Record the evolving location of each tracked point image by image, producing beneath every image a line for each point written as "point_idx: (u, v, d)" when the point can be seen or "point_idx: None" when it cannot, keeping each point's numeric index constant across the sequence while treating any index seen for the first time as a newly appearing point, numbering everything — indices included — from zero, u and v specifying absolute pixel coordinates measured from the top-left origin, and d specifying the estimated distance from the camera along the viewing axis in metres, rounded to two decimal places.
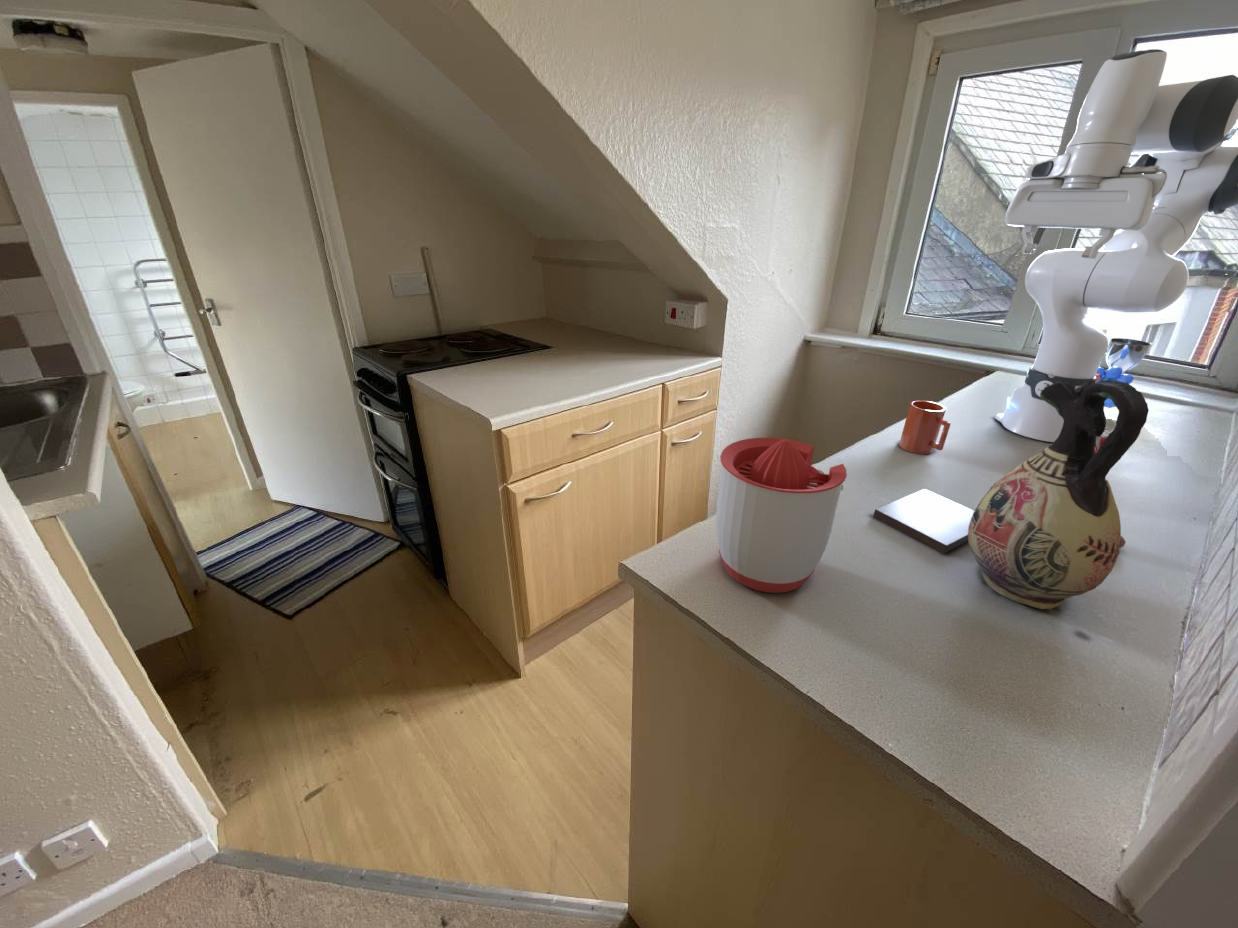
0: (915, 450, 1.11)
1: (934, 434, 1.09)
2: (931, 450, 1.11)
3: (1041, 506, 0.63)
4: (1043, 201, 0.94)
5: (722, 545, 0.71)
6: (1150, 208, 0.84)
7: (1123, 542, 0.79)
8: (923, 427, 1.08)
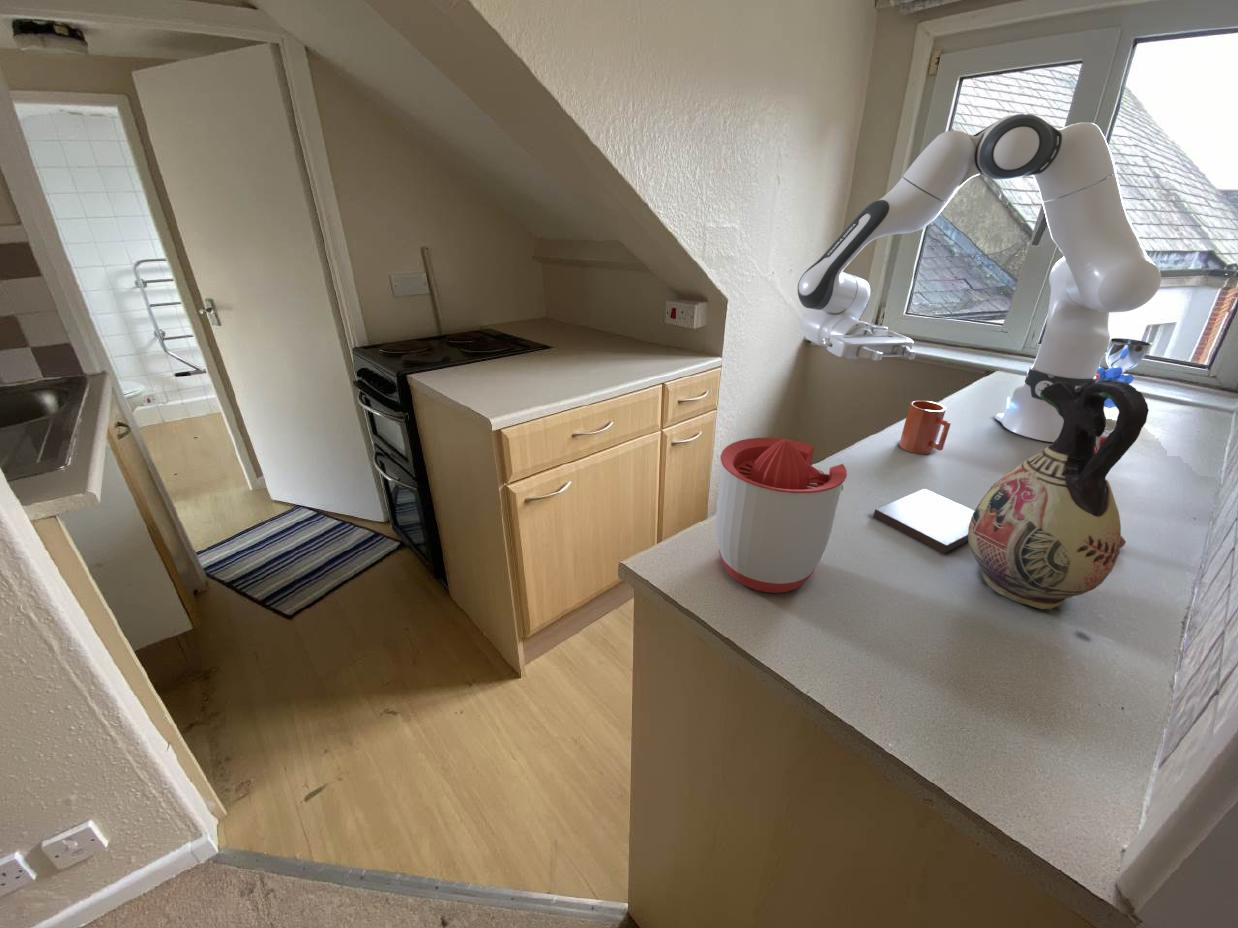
0: (915, 450, 1.11)
1: (934, 434, 1.09)
2: (931, 450, 1.11)
3: (1041, 506, 0.63)
4: None
5: (722, 545, 0.71)
6: (836, 345, 1.18)
7: (1123, 542, 0.79)
8: (923, 427, 1.08)
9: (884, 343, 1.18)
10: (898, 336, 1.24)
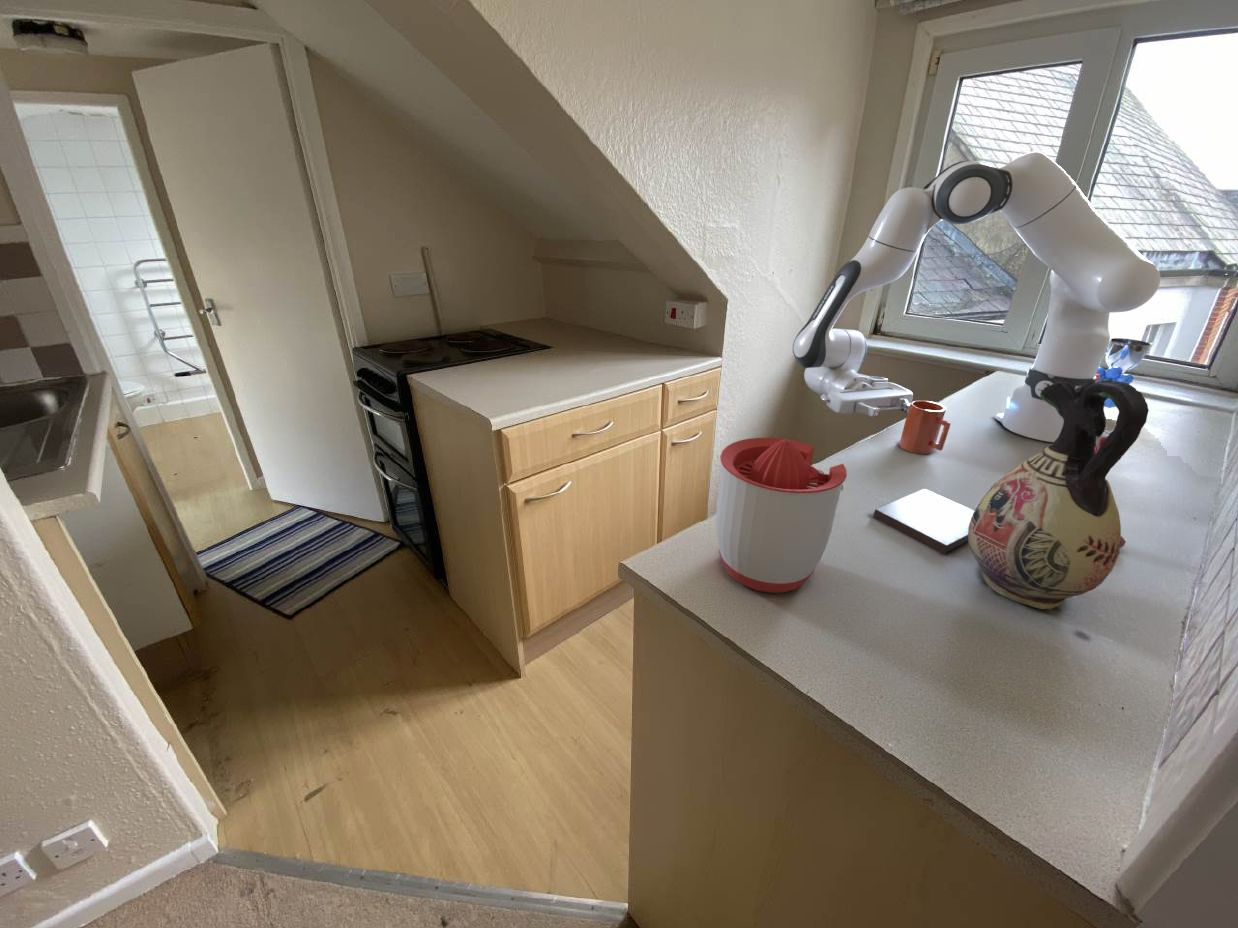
0: (915, 450, 1.11)
1: (934, 434, 1.09)
2: (931, 450, 1.11)
3: (1041, 506, 0.63)
4: None
5: (722, 545, 0.71)
6: (833, 401, 1.22)
7: (1123, 542, 0.79)
8: (923, 427, 1.08)
9: (881, 397, 1.22)
10: (898, 388, 1.27)
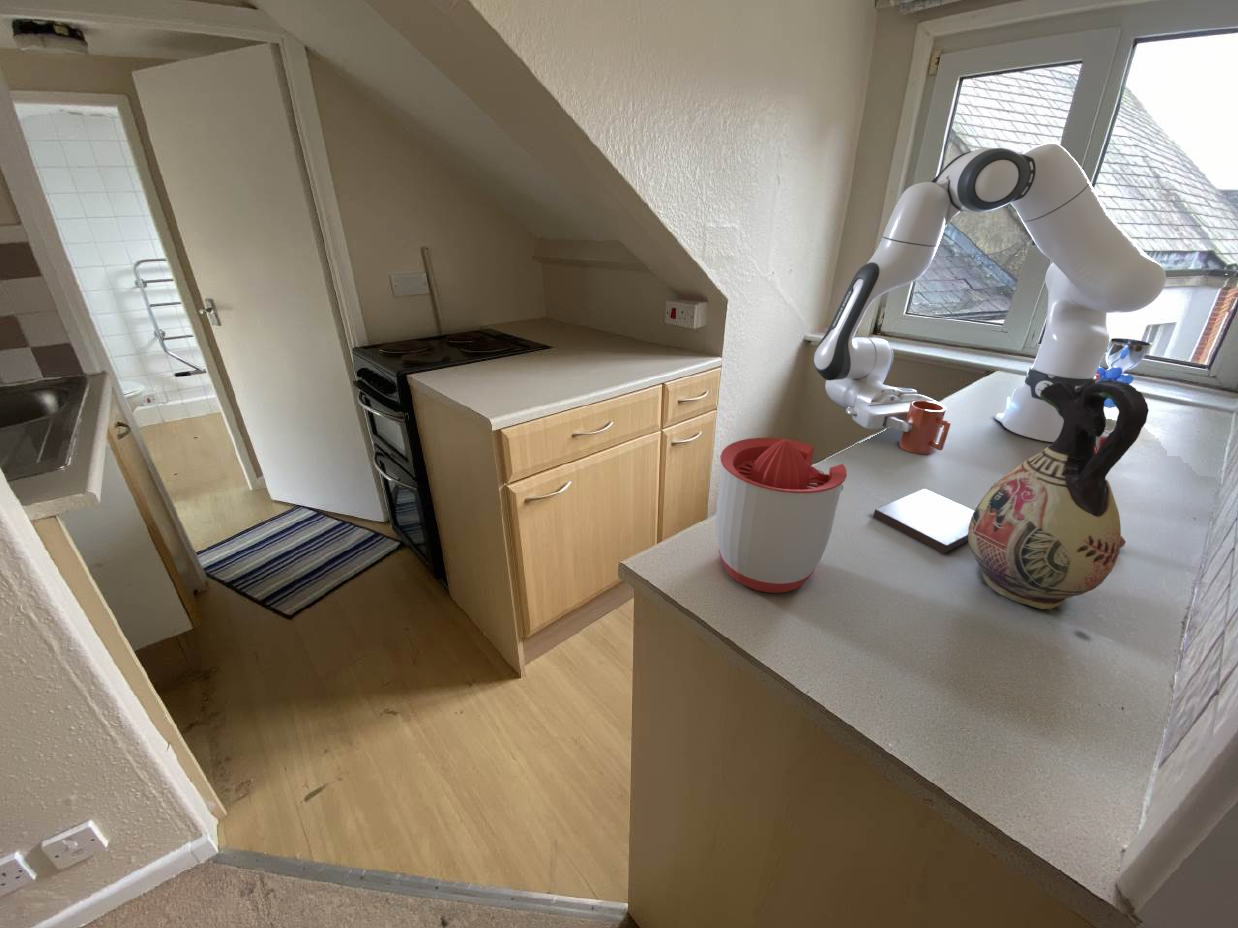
0: (915, 450, 1.11)
1: (934, 434, 1.09)
2: (931, 450, 1.11)
3: (1041, 506, 0.63)
4: None
5: (722, 545, 0.71)
6: (860, 415, 1.14)
7: (1123, 542, 0.79)
8: (923, 427, 1.08)
9: None
10: None
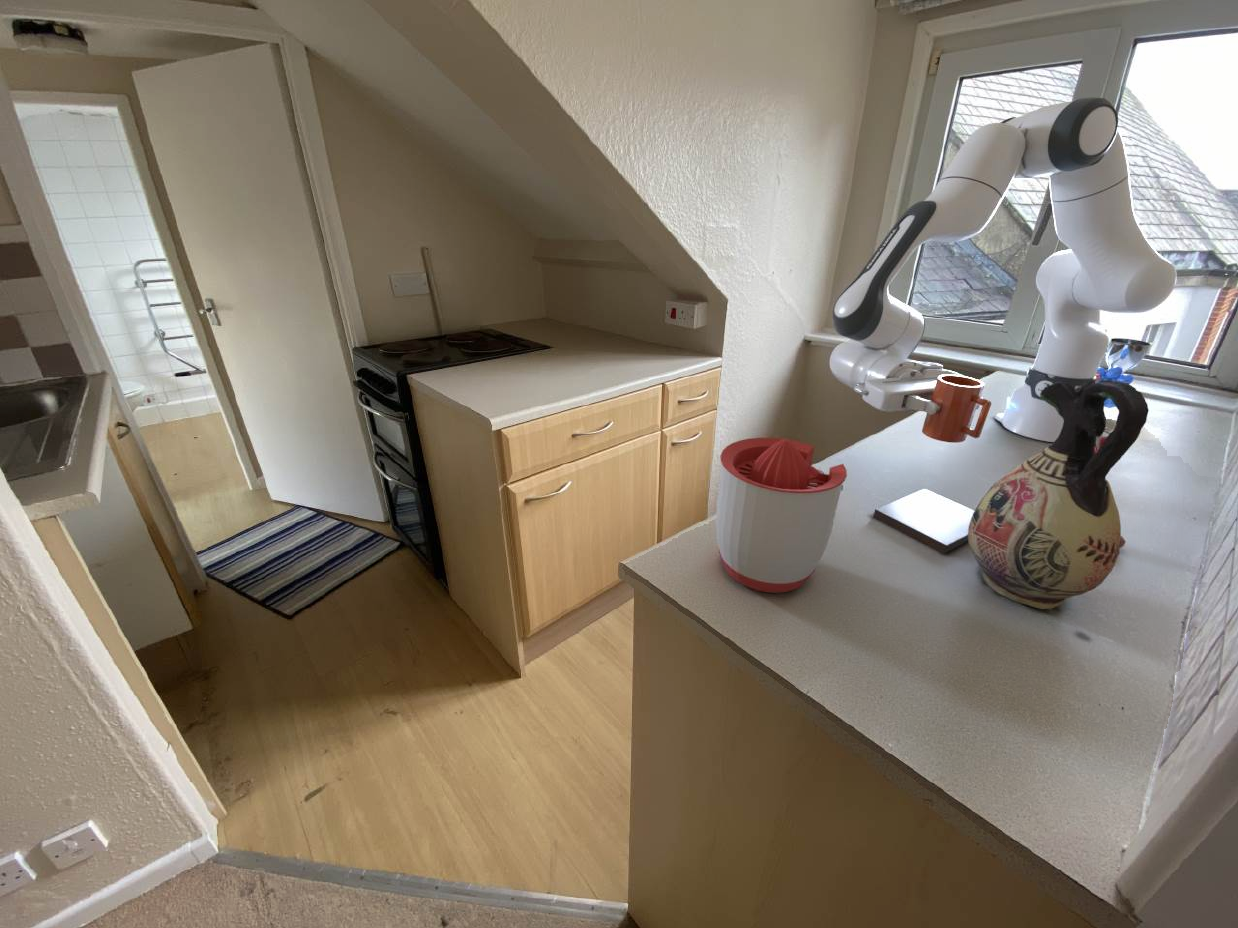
0: (943, 438, 0.87)
1: (969, 417, 0.85)
2: (964, 438, 0.87)
3: (1041, 506, 0.63)
4: None
5: (722, 545, 0.71)
6: (873, 394, 0.90)
7: (1123, 542, 0.79)
8: (955, 408, 0.84)
9: None
10: None
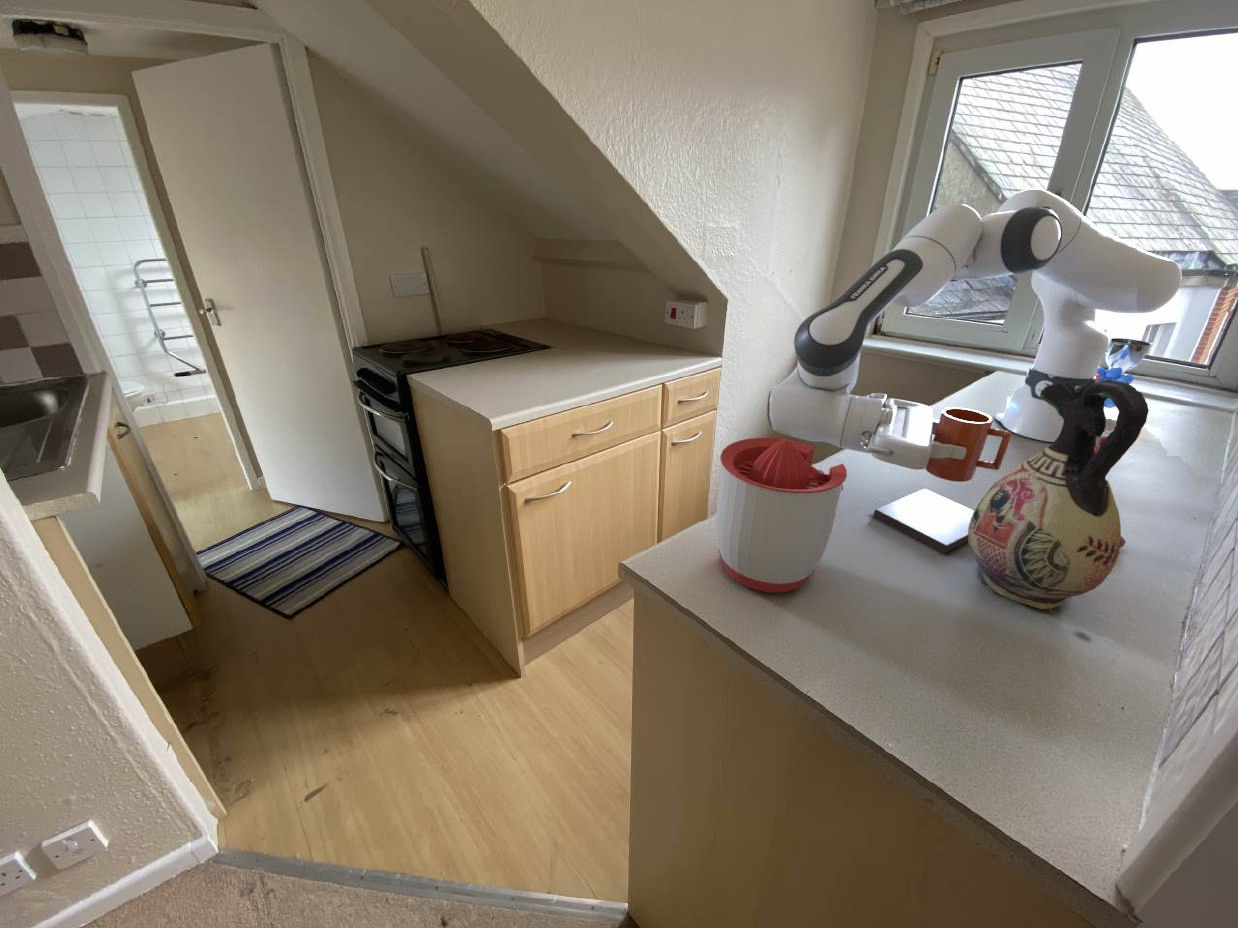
0: (966, 478, 0.79)
1: None
2: None
3: (1041, 506, 0.63)
4: None
5: (722, 545, 0.71)
6: (904, 453, 0.75)
7: (1123, 542, 0.79)
8: (978, 446, 0.77)
9: (931, 426, 0.82)
10: (908, 404, 0.89)
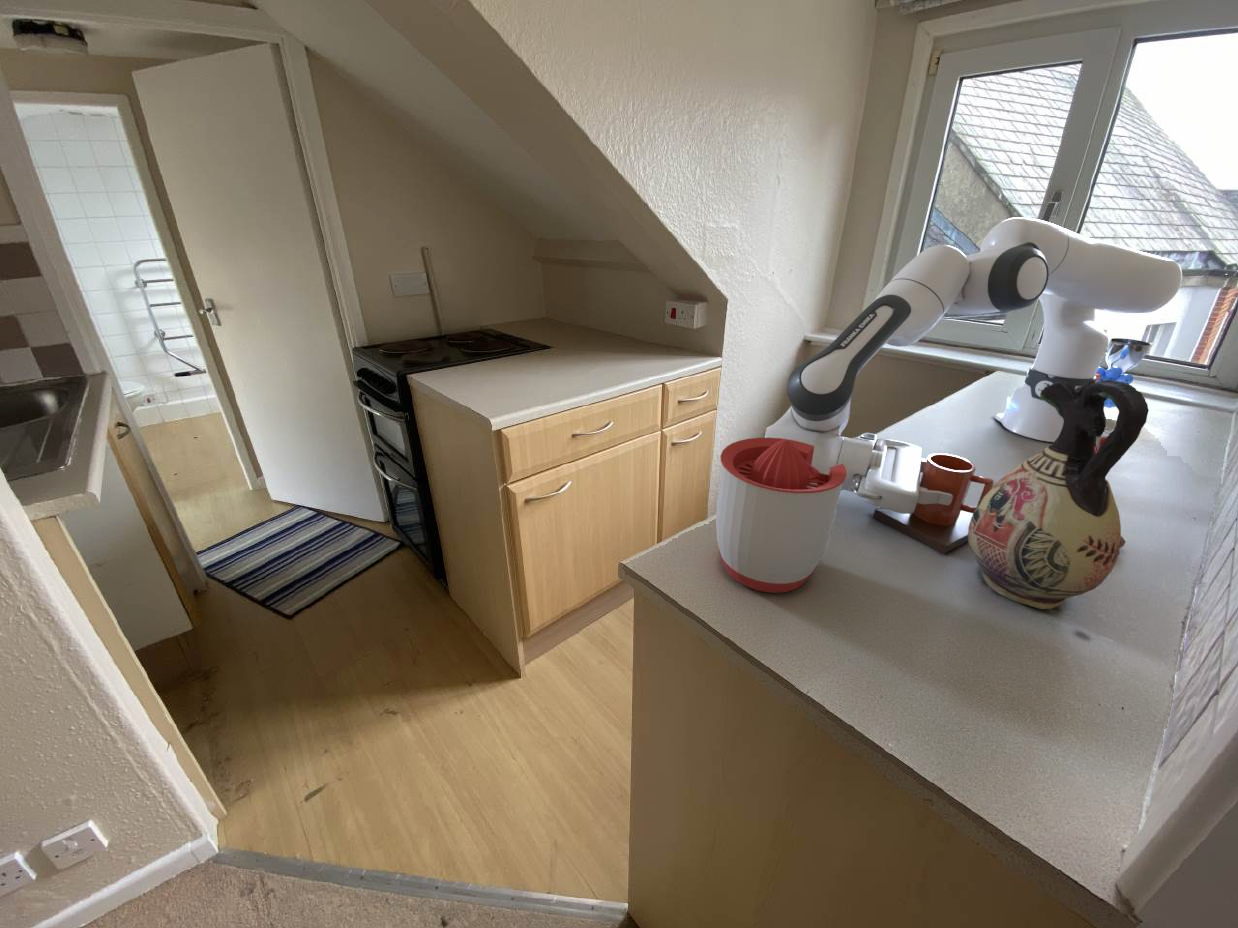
0: (950, 522, 0.83)
1: None
2: None
3: (1041, 506, 0.63)
4: None
5: (722, 545, 0.71)
6: (892, 498, 0.79)
7: (1123, 542, 0.79)
8: (962, 492, 0.81)
9: (920, 468, 0.85)
10: (898, 444, 0.92)
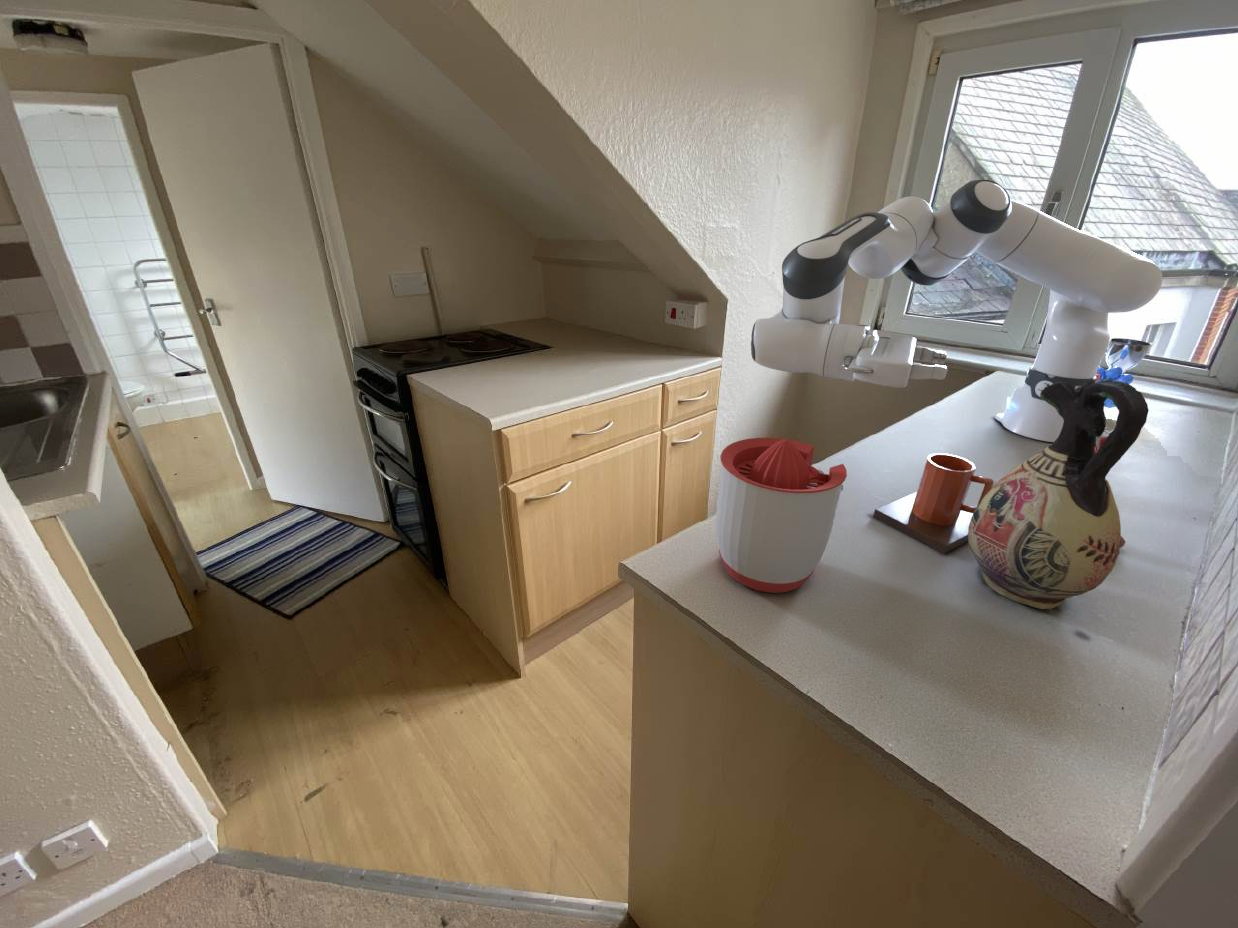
0: (950, 522, 0.83)
1: None
2: None
3: (1041, 506, 0.63)
4: None
5: (722, 545, 0.71)
6: (884, 371, 0.75)
7: (1123, 542, 0.79)
8: (962, 492, 0.81)
9: (913, 350, 0.82)
10: (891, 335, 0.89)
